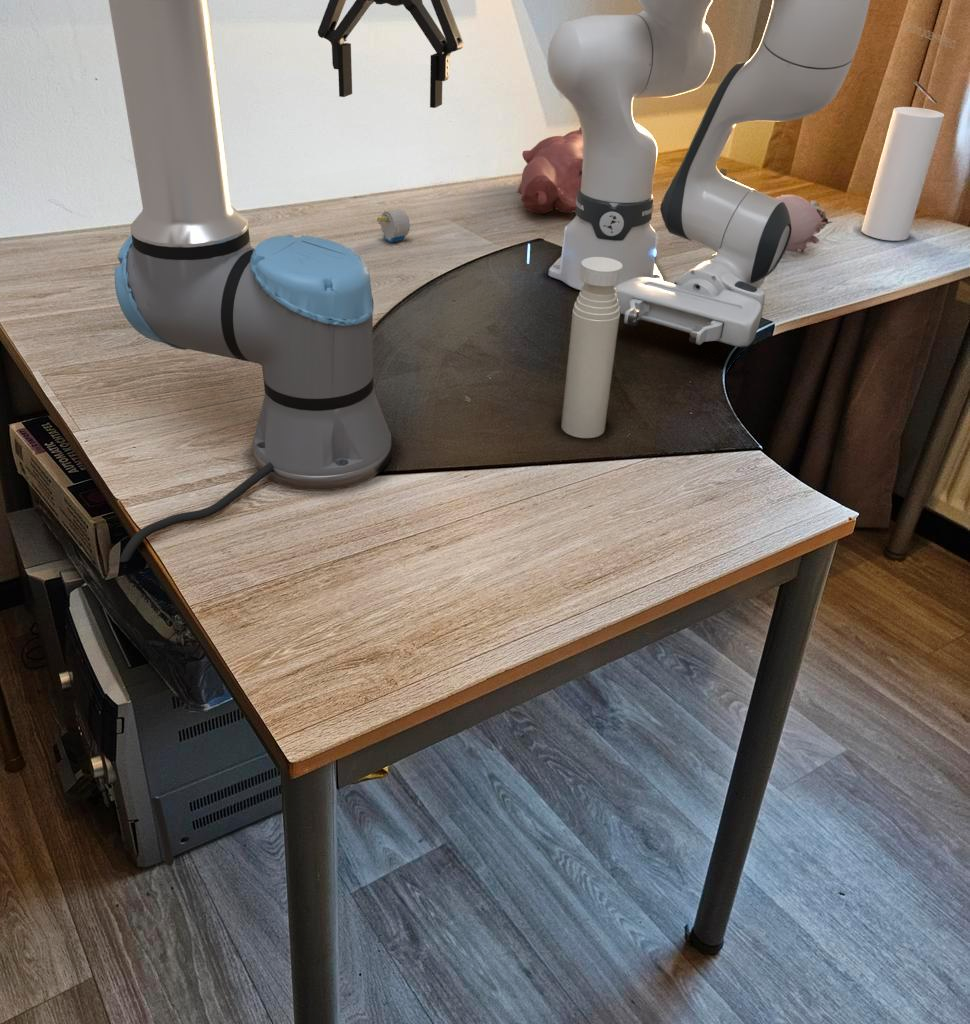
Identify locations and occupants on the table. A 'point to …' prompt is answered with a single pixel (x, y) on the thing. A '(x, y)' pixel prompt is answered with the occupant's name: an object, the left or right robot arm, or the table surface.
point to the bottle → (590, 361)
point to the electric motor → (394, 225)
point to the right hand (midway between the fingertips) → (661, 328)
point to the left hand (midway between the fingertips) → (390, 100)
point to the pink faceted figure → (553, 173)
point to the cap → (600, 271)
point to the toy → (803, 221)
